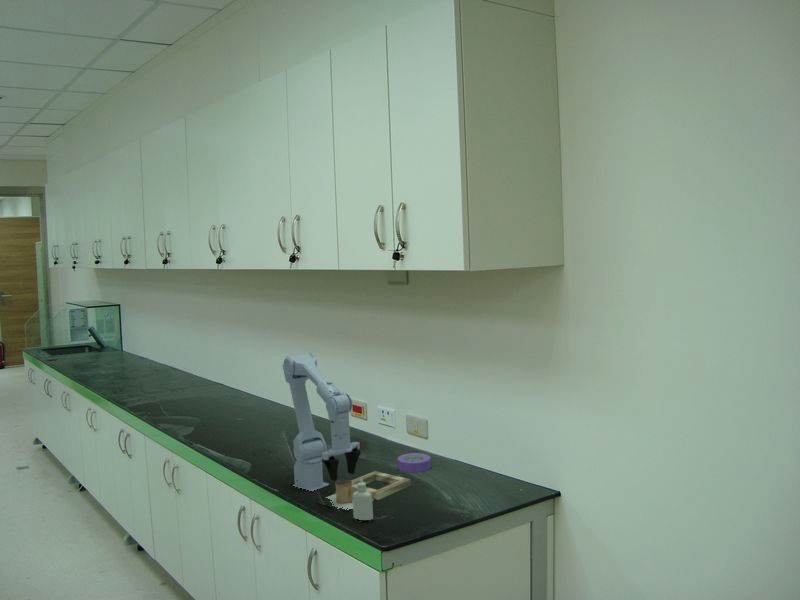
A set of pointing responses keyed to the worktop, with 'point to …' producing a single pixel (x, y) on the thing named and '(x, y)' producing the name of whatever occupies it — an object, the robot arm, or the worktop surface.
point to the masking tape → (414, 462)
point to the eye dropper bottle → (362, 503)
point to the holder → (394, 481)
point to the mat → (345, 506)
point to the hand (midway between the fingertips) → (342, 476)
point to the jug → (344, 491)
